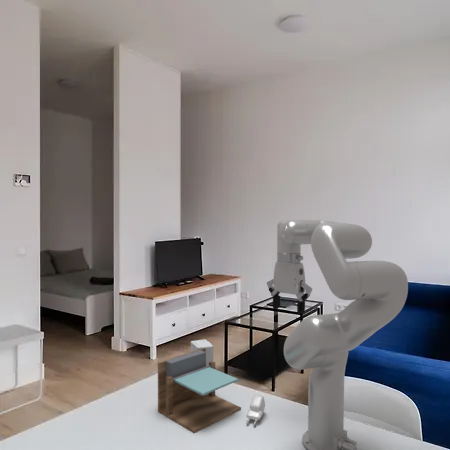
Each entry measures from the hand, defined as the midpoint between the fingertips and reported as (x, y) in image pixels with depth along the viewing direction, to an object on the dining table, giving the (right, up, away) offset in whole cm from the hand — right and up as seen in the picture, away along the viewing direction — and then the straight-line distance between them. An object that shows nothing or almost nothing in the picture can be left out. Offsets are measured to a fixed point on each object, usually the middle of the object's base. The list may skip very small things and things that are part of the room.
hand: (288, 310), depth 131 cm
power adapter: (-11, -33, -6) cm, 35 cm away
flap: (-28, -22, -2) cm, 36 cm away
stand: (-29, -32, -1) cm, 43 cm away
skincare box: (-30, -32, +19) cm, 48 cm away
